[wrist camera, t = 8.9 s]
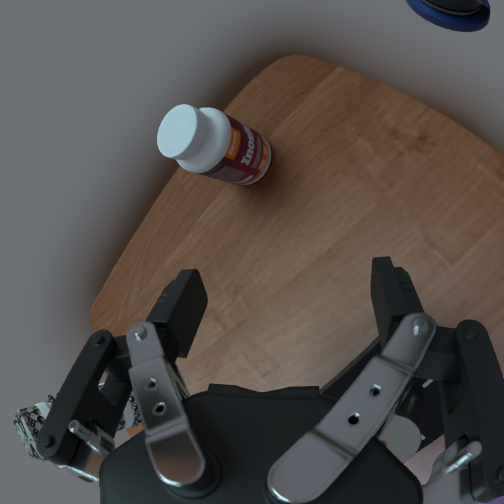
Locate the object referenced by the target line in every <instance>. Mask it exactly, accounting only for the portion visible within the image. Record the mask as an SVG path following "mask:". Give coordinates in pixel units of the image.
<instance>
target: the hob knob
mask: <svg viewBox="0 0 504 504" xmlns="http://www.w3.org/2000/svg"><path fill="white" fill-rule="evenodd" d="M423 407H424V405H423V400H422V398H421V396H420V395H419V393H418V392H417V391H416V390H414V389H413V388H411V389H410V391H409V393H408V394H407V396H406V398H405V399H404V401H403V403H402V404H401V406H400V408H399V409H398V411H397V412H396V414H395V416H394V418H393V419H392V421H391V422H390V424H389V426H388V427H387V429H386V430H385V431H384V433H383V434H382V436H381V437H380V438H379V440H380V441H381V442H382V443H383V444H384V445H385V446H386V447H387V448H388V449H389V450H390V451H391V452H392V453H393V454H394V455H395V456H396V457H397V458H398V459H399V460H400V461H401V462H402V463H403V462H405V461H407V460H408V459H410V458H411V457H412V456H413V455H414V454H415V453H416V452H417V450H418V448H419V446H420V443H421V436H422V424H423Z"/></svg>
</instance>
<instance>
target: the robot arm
mask: <svg viewBox="0 0 504 504" xmlns="http://www.w3.org/2000/svg"><path fill="white" fill-rule="evenodd" d="M420 1H421V2H422V3H424V4H425V5H426V6H428V7H430V8H432V9H434V10H436V11H438V12H441V13H443V14H447V15H451V16H456V17H470V16H473V15H476V14H477V13H478V12H479V11H480V9H481V3H482V1H481V0H420ZM371 299H372V304H373V308H374V313H375V317H376V322H377V327H378V332H379V337H380V343H381V348H382V352H381V353H380V354H379V355H378V354H375V355H374V356H373V357H372V359H371V360H370V361H369V363H368V364H367V365H366V367H365V368H364V369H363V371H362V372H361V373H360V375H359V376H358V377H357V378H356V380H355V381H354V382H353V383H352V385H351V386H350V387H349V388H348V390H347V391H346V392H345V393H344V395H343V396H342V397H341V398H340V399H339V400H337V399H335V398H333V397H330V396H327V395H323V394H319V386H304V387H287V388H282V389H278V390H273V391H268V392H257V391H253V390H249V389H246V388H242V387H239V386H236V385H223V384H209V387H208V390H207V391H204V392H200V393H197V394H194V395H192V396H191V395H190V393H189V391H188V389H187V387H186V385H185V382H184V380H183V378H182V376H181V373H180V371H179V369H178V366H177V364H176V363H175V361H176V359H177V357H180V358H187V355H188V353H189V350H190V348H191V345H192V343H193V340H194V337H195V335H196V332H197V330H198V327H199V325H200V322H201V320H202V317H203V315H204V312H205V310H206V307H207V303H208V298H207V293H206V290H205V287H204V285H203V282H202V279H201V276H200V273H199V271H198V270H197V269H189V270H181V271H180V273H179V274H178V276H177V278H176V280H173V281H171V282H170V283H169V284H168V285H167V286H166V287H165V288H164V290H163V292H162V293H161V296H160V297H159V298H158V300H157V302H156V303H155V305H154V307H153V309H152V310H151V312H150V314H149V316H148V317H147V319H146V321H145V322H140V323H137V324H135V325H134V326H132V327H131V328H130V329H129V331H128V332H127V335H123V336H118V337H113V336H112V334H111V333H110V331H108V330H99V331H97V332H95V333H94V334H93V335H91V336H90V338H89V339H88V341H87V342H86V344H85V346H84V348H83V349H82V351H81V353H80V355H79V356H78V358H77V360H76V361H75V363H74V365H73V367H72V369H71V370H70V372H69V374H68V376H67V378H66V380H65V382H64V383H63V385H62V387H61V389H60V391H59V393H58V395H57V397H56V399H55V401H54V403H53V405H52V407H51V409H50V411H49V413H48V415H47V417H46V419H45V421H44V423H43V426H42V428H41V430H40V432H39V434H38V437H37V440H36V448H37V451H38V453H39V454H40V455H41V456H43V457H44V458H46V459H47V460H49V461H51V462H52V463H53V464H55V465H56V466H58V467H59V468H61V469H62V470H64V471H66V472H68V473H69V474H71V475H73V476H76V477H78V478H80V479H82V480H84V481H86V482H97V483H99V486H100V504H486V503H488V502H490V501H493V500H495V499H497V498H500V497H502V496H504V379H503V376H502V372H501V369H500V366H499V363H498V360H497V357H496V354H495V352H494V349H493V346H492V343H491V341H490V338H489V336H488V333H487V331H486V329H485V327H484V326H483V325H482V324H481V323H479V322H478V321H475V320H464V321H462V322H460V323H459V324H458V326H457V328H456V329H454V328H447V327H441V326H437V325H436V324H435V322H434V320H433V319H432V318H431V317H430V316H428V315H426V314H425V313H424V311H423V308H422V305H421V303H420V300H419V298H418V295H417V293H416V290H415V288H414V285H413V283H412V281H411V278H410V276H409V274H408V273H407V272H406V271H405V270H404V269H403V268H402V267H394V266H393V264H392V261H391V259H390V257H389V256H388V257H375V258H373V260H372V273H371ZM104 371H106V372H107V373H108V374H109V375H108V377H107V379H106V381H105V383H104V385H103V387H102V390H101V392H100V390H99V381H100V379H101V377H102V374H103V373H104ZM417 378H423V379H430V380H437V384H438V390H439V396H440V403H441V410H442V417H443V426H444V435H445V447H446V450H445V451H444V452H443V453H441V454H440V455H439V456H438V457H437V458H436V460H435V462H434V464H433V467H432V474H431V477H430V479H429V480H428V482H427V483H426V484H425V485H423V486H421V484H420V482H419V480H418V479H417V477H416V476H415V475H414V474H413V473H412V472H411V471H410V470H409V469H408V468H407V467H406V466H405V465H404V464H403V463H402V462H401V461H400V460H399V459H398V458H397V457H396V456H395V455H394V454H393V453H392V452H391V451H390V450H389V449H388V448H387V447H386V446H385V445H384V444H383V443H382V442H381V441H380V440H379V438H380V437H381V436H382V434H383V433H384V431H385V430H386V429H387V427H388V426H389V424H390V422H391V421H392V419H393V418H394V416H395V414H396V412H397V411H398V409H399V408H400V406H401V404H402V403H403V401H404V399H405V398H406V396H407V394H408V393H409V391H410V389H411V388H412V386H413V384H414V382H415V381H416V379H417ZM132 389H133V392H134V396H135V399H136V403H137V407H138V410H139V414H140V417H141V421H142V424H143V427H144V430H142V431H141V432H139V433H138V434H136V435H135V436H134V437H132V438H131V439H129V440H128V441H126V442H125V443H124V444H122V445H121V446H119V447H118V448H116V449H115V442H114V440H113V439H114V436H115V433H116V431H117V428H118V426H119V423H120V420H121V418H122V415H123V412H124V410H125V407H126V405H127V402H128V400H129V397H130V394H131V392H132Z"/></svg>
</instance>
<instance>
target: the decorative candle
mask: <svg viewBox="0 0 504 504" xmlns="http://www.w3.org/2000/svg"><path fill="white" fill-rule="evenodd" d="M104 383H105V382H104ZM104 383H101V384H99V390H100V392H101V390H102V387H103V385H104ZM57 395H58V393H57ZM54 401H55V399H54V398H53V397H52V396H51V395H49V396H48V402H49V403H45V402H42V403H38V404H35V406H32V407H29V408H25V409H21V410H19V409H18V412H17V414H16V415H15V417H14V419H13V422H14V425H15V427H16V429H17V432H18V434H19V436H20V438H21V440H22V442H23V444H24V446H25V448H26V450H27V451H28V453H29V455H30V456H31V457H33V458H37V459H41V460H42V461H43V462H44V461H45V460H47V459H46V458H44V457H43V456H41V455H40V454H39V453H38V451H37V448H36V440H37V437H38V434H39V432H40V430H41V428H42V426H43V423H44V421H45V419H46V417H47V415H48V413H49V411H50V409H51V407H52V405H53V403H54ZM141 422H142V421H141V417H140V414H139V410H138V407H137V403H136V399H135V396H134V392H133V389H132V392H131V394H130V397H129V400H128V402H127V405H126V407H125V410H124V412H123V415H122V418H121V420H120V423H119V426H118V428H117V431H119V430H121V429H126V428H128V427H130V426H138V423H141ZM117 431H116V432H117Z"/></svg>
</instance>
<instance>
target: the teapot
mask: <svg viewBox="0 0 504 504" xmlns="http://www.w3.org/2000/svg"><path fill="white" fill-rule="evenodd" d="M486 504H504V496H502V497H500V498H497V499H495V500H493V501H490V502H488V503H486Z"/></svg>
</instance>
